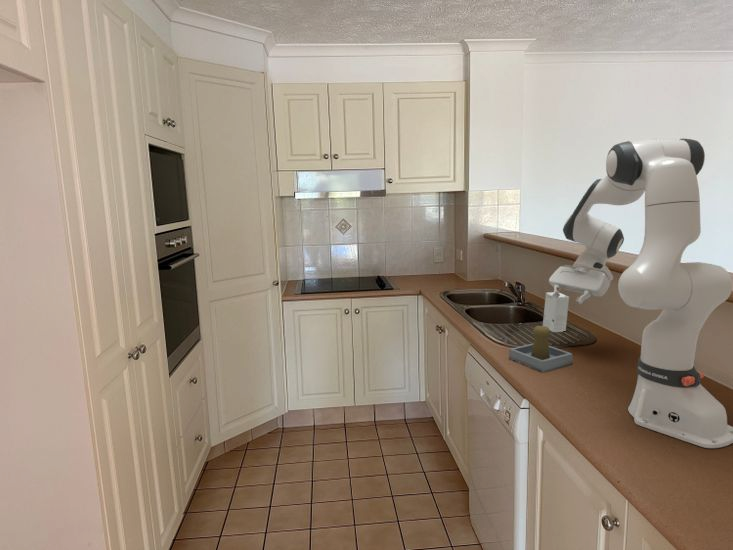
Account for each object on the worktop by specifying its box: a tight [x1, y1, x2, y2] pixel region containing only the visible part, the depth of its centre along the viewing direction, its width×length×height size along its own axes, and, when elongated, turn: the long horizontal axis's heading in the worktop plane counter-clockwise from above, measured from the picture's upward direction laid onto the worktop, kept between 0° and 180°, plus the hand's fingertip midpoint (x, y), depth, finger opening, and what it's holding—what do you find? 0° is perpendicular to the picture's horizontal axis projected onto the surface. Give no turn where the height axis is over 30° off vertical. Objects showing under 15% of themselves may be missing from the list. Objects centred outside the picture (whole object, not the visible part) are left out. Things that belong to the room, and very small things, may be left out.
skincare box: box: [542, 291, 570, 333], centre depth 189 cm, size 8×6×15 cm
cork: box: [531, 325, 551, 360], centre depth 155 cm, size 6×6×11 cm
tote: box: [508, 343, 574, 373], centre depth 156 cm, size 14×14×4 cm
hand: (566, 299), depth 158 cm, fingers open, 8 cm apart
